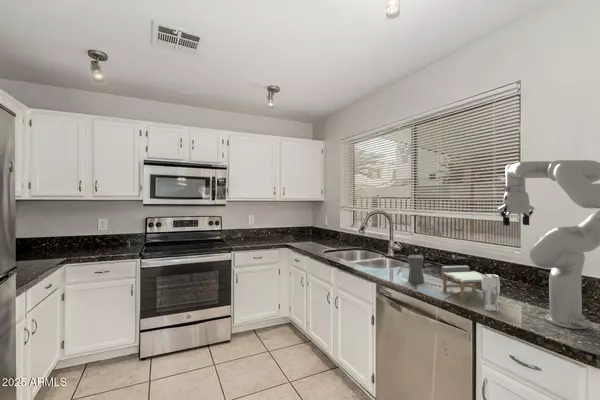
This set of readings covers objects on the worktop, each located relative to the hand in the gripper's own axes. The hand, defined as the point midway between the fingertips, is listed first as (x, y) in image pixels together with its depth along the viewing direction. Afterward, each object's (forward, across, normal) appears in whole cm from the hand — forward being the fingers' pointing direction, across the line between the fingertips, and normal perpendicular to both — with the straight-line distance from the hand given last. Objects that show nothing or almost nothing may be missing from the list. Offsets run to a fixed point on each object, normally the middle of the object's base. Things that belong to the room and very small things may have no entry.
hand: (516, 225), depth 138 cm
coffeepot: (+37, -32, +38) cm, 62 cm away
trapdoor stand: (+37, -18, +9) cm, 42 cm away
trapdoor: (+29, -18, +12) cm, 37 cm away
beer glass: (+37, -19, -8) cm, 42 cm away
